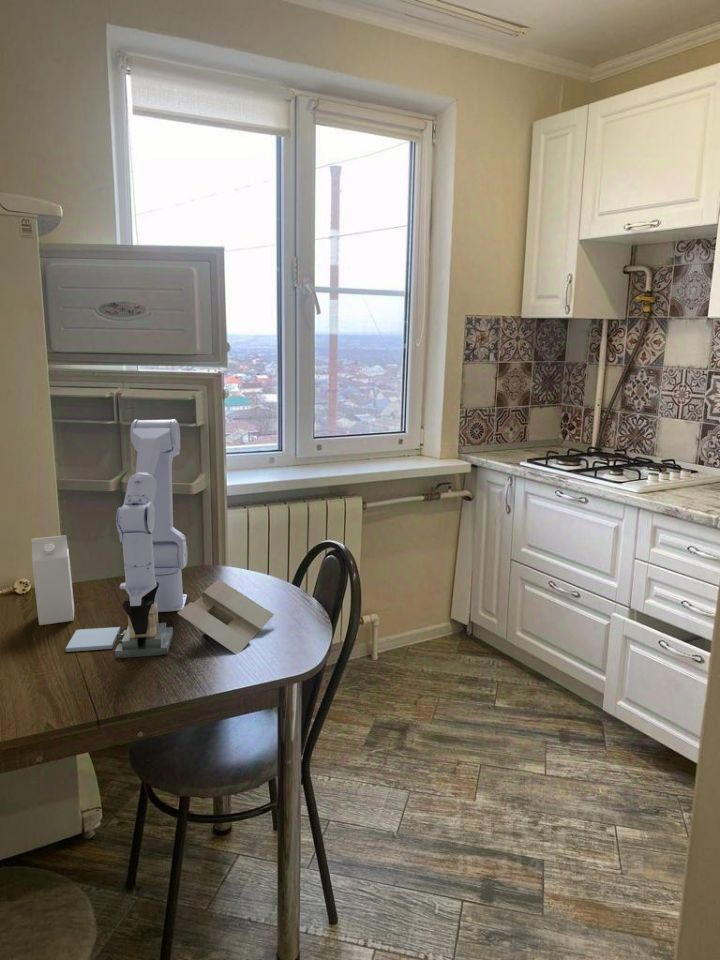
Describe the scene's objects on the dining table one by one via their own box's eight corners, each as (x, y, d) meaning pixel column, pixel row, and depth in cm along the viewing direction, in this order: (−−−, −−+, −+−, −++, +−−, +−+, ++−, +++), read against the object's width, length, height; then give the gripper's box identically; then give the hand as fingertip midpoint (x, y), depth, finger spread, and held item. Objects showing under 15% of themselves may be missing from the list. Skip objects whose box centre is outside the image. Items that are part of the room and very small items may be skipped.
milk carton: (41, 614, 161) (32, 534, 157) (74, 609, 163) (66, 531, 159) (39, 626, 154) (30, 543, 150) (73, 621, 157) (65, 539, 153)
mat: (76, 633, 151) (76, 629, 150) (120, 630, 152) (120, 626, 152) (66, 651, 142) (65, 648, 142) (112, 648, 143) (111, 645, 143)
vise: (122, 636, 149) (120, 608, 147) (173, 633, 150) (171, 605, 149) (113, 658, 139) (110, 627, 138) (167, 654, 140) (165, 624, 139)
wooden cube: (133, 627, 146) (132, 605, 145) (158, 626, 147) (156, 603, 146) (129, 637, 141) (127, 614, 140) (155, 636, 142) (153, 612, 141)
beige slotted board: (257, 634, 159) (209, 589, 160) (276, 613, 154) (227, 566, 155) (217, 677, 145) (164, 627, 145) (237, 655, 140) (183, 604, 141)
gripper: (124, 552, 147) (129, 613, 150) (111, 576, 133) (116, 642, 136) (159, 550, 148) (163, 611, 151) (149, 573, 134) (154, 639, 137)
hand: (143, 626), depth 144 cm, fingers open, 7 cm apart
